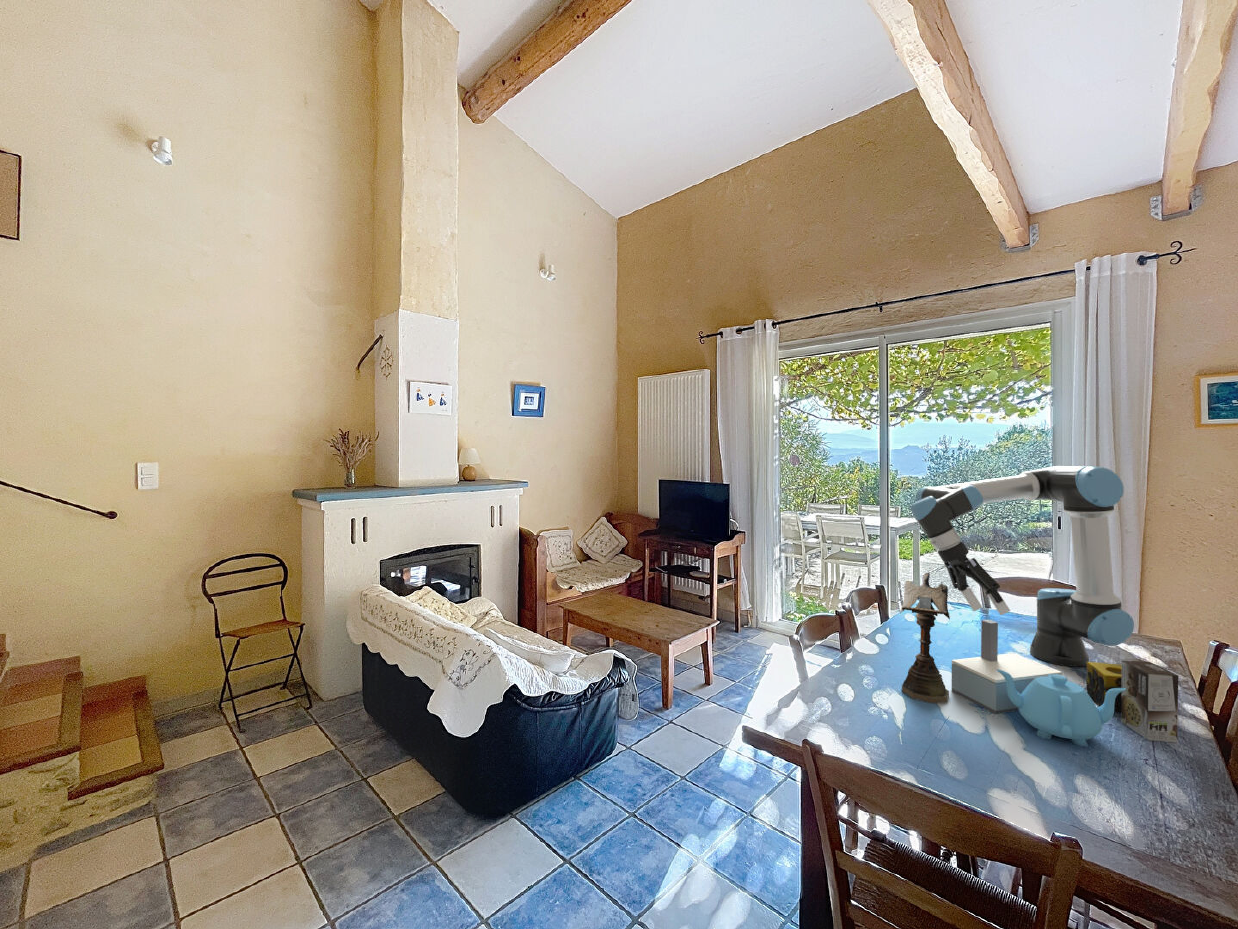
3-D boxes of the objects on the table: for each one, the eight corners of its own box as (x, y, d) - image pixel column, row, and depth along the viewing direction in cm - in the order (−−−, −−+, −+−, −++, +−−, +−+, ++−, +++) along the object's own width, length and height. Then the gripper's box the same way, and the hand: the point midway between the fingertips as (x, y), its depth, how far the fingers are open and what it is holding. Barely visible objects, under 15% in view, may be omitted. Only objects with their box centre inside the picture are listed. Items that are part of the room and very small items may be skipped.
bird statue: (953, 716, 139) (954, 583, 138) (897, 702, 146) (898, 576, 145) (956, 692, 152) (958, 571, 151) (905, 681, 160) (906, 565, 159)
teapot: (1126, 747, 124) (1127, 687, 124) (1056, 755, 121) (1057, 694, 120) (1057, 713, 140) (1058, 660, 140) (994, 720, 137) (994, 666, 136)
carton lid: (1013, 655, 158) (1013, 616, 158) (1062, 675, 144) (1062, 632, 144) (951, 662, 153) (952, 622, 153) (996, 683, 140) (996, 638, 139)
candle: (1130, 700, 147) (1130, 665, 147) (1153, 718, 137) (1153, 679, 137) (1084, 695, 150) (1085, 660, 150) (1104, 712, 141) (1104, 674, 141)
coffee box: (1179, 743, 125) (1180, 676, 125) (1147, 740, 127) (1148, 673, 126) (1149, 724, 134) (1150, 661, 134) (1119, 721, 136) (1120, 659, 135)
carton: (1012, 683, 158) (1013, 656, 158) (1061, 704, 145) (1061, 675, 144) (951, 690, 153) (951, 663, 153) (995, 714, 140) (996, 683, 140)
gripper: (919, 552, 172) (957, 613, 168) (960, 550, 148) (1006, 620, 143) (939, 542, 172) (978, 602, 168) (983, 537, 148) (1030, 608, 143)
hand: (991, 611), depth 156 cm, fingers open, 13 cm apart
